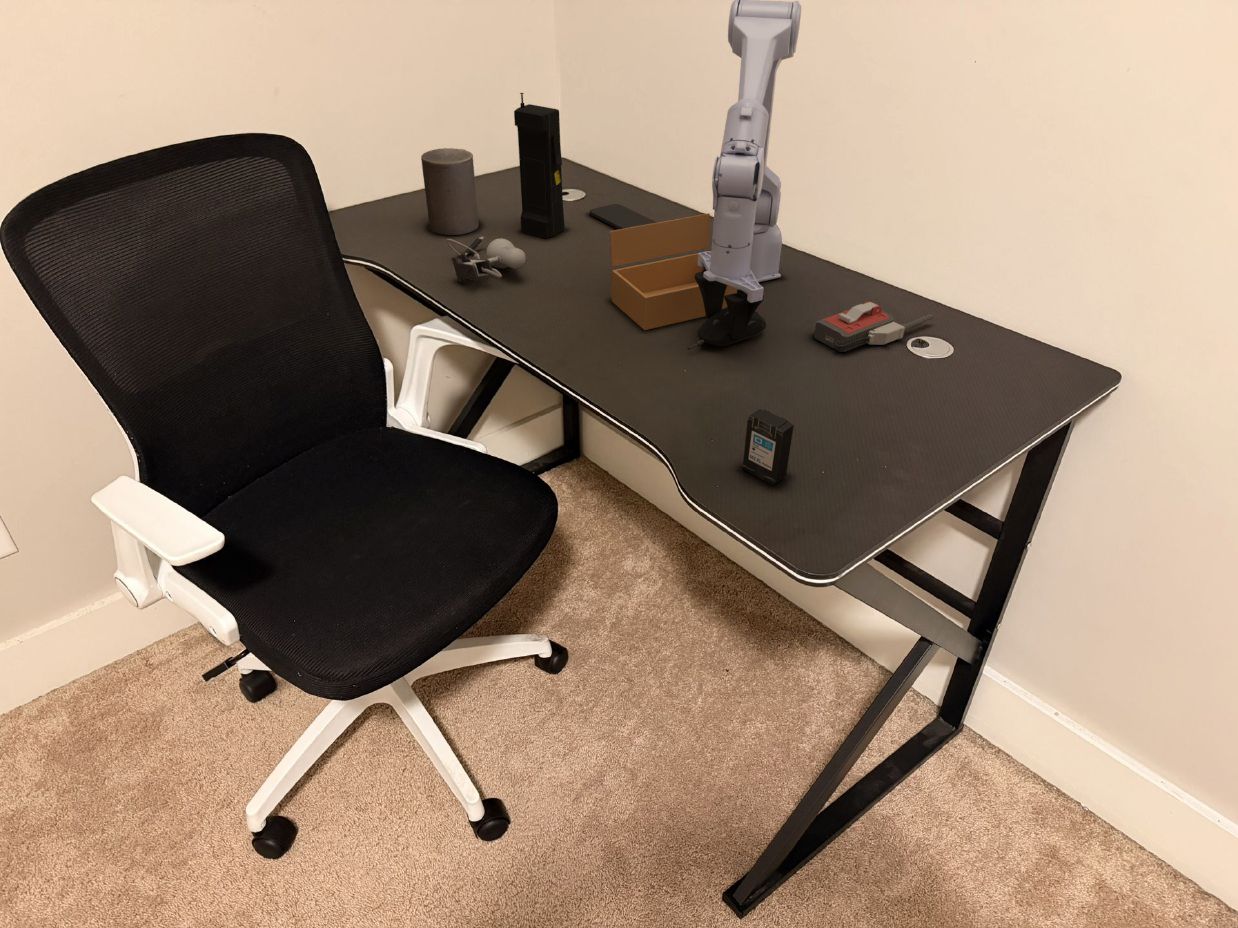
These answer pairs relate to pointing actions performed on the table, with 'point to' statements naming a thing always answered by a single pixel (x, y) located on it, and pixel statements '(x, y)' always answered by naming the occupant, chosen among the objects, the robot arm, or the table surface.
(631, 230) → the flap
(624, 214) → the phone
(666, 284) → the carton
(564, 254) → the table surface
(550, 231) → the portable radio
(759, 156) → the robot arm
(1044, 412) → the table surface
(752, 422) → the ink cartridge
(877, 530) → the table surface
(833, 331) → the walkie-talkie
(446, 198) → the pillar candle
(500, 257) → the clip-on lamp
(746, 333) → the gaming mouse
